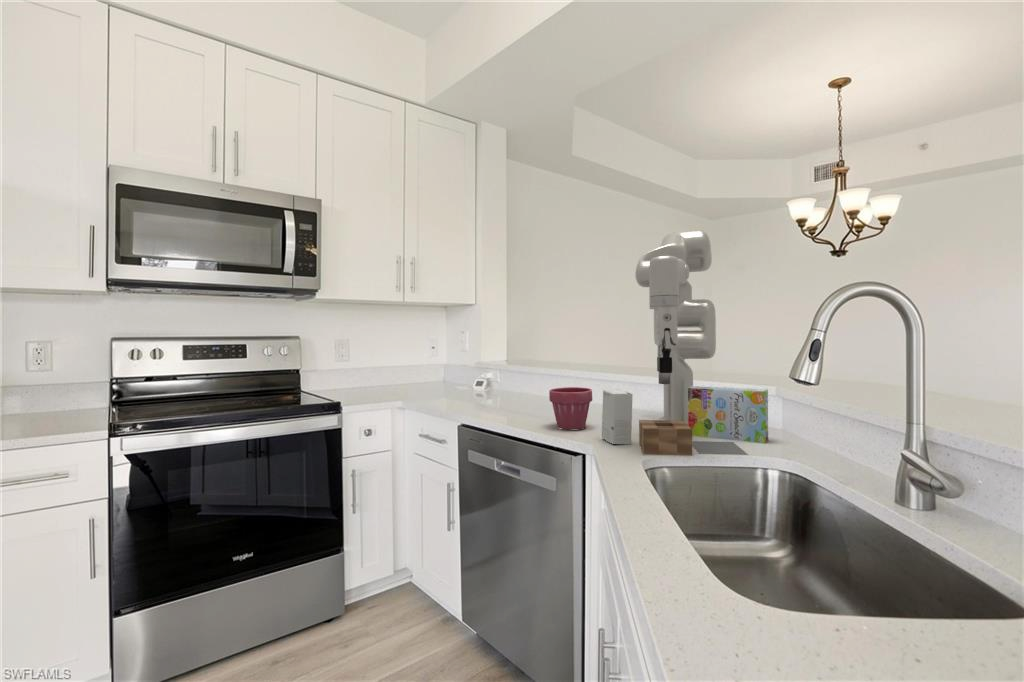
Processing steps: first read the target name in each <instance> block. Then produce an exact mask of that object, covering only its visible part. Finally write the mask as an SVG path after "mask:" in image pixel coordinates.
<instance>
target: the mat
mask: <svg viewBox="0 0 1024 682" xmlns="http://www.w3.org/2000/svg"><path fill="white" fill-rule="evenodd" d="M692 448H693V449H695V451H696V452H697V453H698V455H731V456H732V455H735V456H736V455H737V456H739V455H740V456H741V455H742V456H745V455H746V456H749V453H747V452H746V451H745V450H744V449H742V448H741V447H740V446H739V445H737V444H736V442H733V441H708V440H706V441H704V440H703V441H701V440H696V441H695V440H692Z"/></svg>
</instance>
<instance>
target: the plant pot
mask: <svg viewBox="0 0 1024 682" xmlns="http://www.w3.org/2000/svg"><path fill="white" fill-rule="evenodd" d="M548 395H549V396H548V397H549V398H548V399H549V402H551V403H552V408H553V414H554V417H555V422H556V425H557V428H558V427H559V428H562V429H581V430H584V429H586V424H587V419H588V415H589V409H590V405H591V404H590V403H591V402H593V390H592V389H591V388H589V387H588V388H587V387H580V386H579V387H577V386H576V387H574V386H572V387H571V386H570V387H569V386H567V387H557V388H551V389H549V394H548ZM559 428H558V429H559ZM583 428H584V429H583ZM562 429H561V430H562Z"/></svg>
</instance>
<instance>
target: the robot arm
mask: <svg viewBox="0 0 1024 682" xmlns="http://www.w3.org/2000/svg"><path fill="white" fill-rule="evenodd" d="M712 256H713V255H712V246H711V241H710V237H709V236H708V234H707V232H705V231H704V230H699V229H697V230H696V229H693V230H685V231H675V232H671V233H668V234H666V235H665V237H663V239H662V241H661V243H660V246H659V247H656V248H655V249H652V250H649V251H647V252H645V253H644V254H642V255H641V256H640V257H639V259H638V262H637V264H636V268H635V281H636V282H637V284H638V286H640V287H642V288H648V290H649V292H648V293H649V297H648V298H649V304H648V305H649V307H648V308H649V310H653V339H654V344H655V345H656V346H657V347H658V346H660V358H659V366H658V356H656V365H657V367H656V371H657V372H658V373H659V372H660V373H670V384H663V417H660V418H659V419H658V420H678V421H684V422H685V423H686V424H687V425H688V388H689V387H692V386H694V373H693V369H692V367H691V366H690V365H689V364H688V363H687V362H686V360H702V359H703V360H705V359H706V360H709V359H712V358H713V357H714V356H715V355H716V348H717V347H716V346H717V342H716V341H717V340H716V339H717V334H716V333H717V329H716V325H717V323H716V322H717V321H716V308H715V304H714V303H713V301H712V300H709V299H703V298H702V299H693V297H692V296H693V287H692V284H691V283H690V282H689V281H688V280H689V278H690V273H698V272H706V271H708V270H709V269H710V267H711V266H712V265H711V264H712V263H713V261H712V259H713V258H712ZM679 328H680V329H681V328H683V329H684V328H685V329H686V328H690V329H691V328H695V330H678V329H679ZM696 328H698V330H696Z"/></svg>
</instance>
